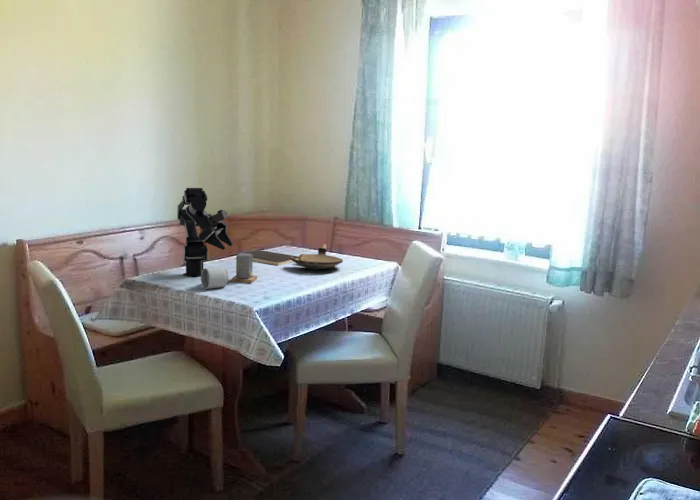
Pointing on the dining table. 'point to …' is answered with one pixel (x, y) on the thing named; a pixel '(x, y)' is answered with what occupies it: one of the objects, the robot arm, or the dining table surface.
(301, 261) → the oil lamp
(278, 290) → the dining table surface
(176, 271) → the dining table surface
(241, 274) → the grey cardboard box
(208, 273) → the ceramic mug
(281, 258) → the hardcover book
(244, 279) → the post base
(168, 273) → the dining table surface
